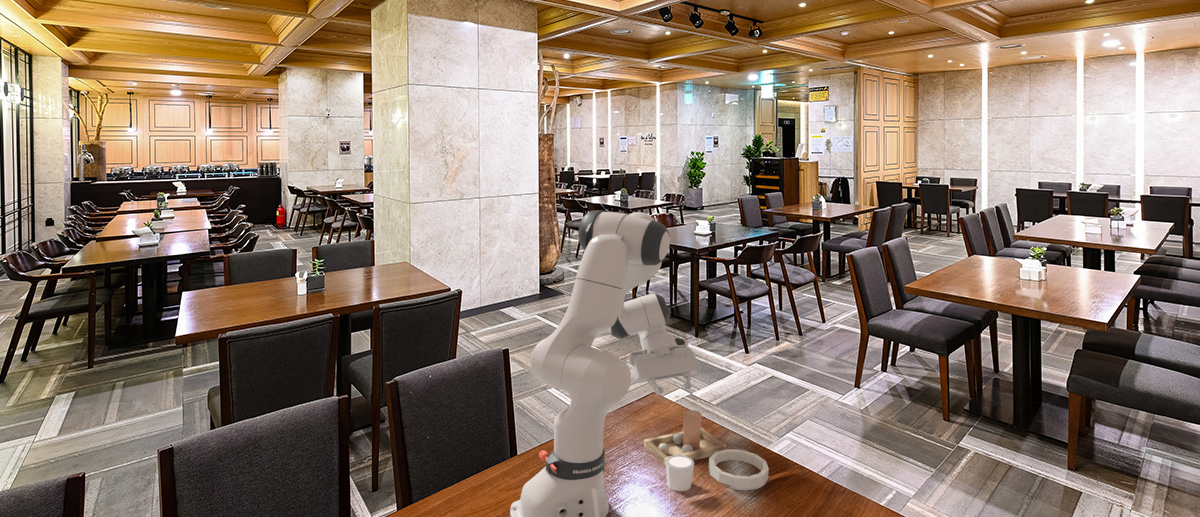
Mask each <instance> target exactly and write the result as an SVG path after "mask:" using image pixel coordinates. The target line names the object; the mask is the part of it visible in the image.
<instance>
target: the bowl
mask: <svg viewBox="0 0 1200 517" xmlns="http://www.w3.org/2000/svg"><path fill="white" fill-rule="evenodd" d="M726 461H740V462H744V463H747V464H750V465H753V466H754V467H756V468H757V470H759V472H758V473H755V474H752V475H735V474H732V473H730V472H726V471H724V470H722V469H721V468H719V467H718V466H717V465H718V464H720V463H723V462H726ZM708 470H709V475H710V476H711V477H712V478H713V479H715V480H716V481H717V482H718V483H721V484H723V485H727V486H726V488H727V489H731V490H733V491H734V490H735V491H743V492H745V491H746V492H747V491H753V490H757V489H761V488H763V487H764V486H765V485H766V484H767V481H768V479H769V470H770V468H769V466H768V463H767V461H766V460H765V459H764V458H762V457H761V456H760V455H758V454H757V453H753V452H750V451H747V450H744V449H734V448H733V449H730V448H729V449H728V448H727V449H726V450H722V451H718V452H715V453H714V454H713V455H712V456H711V457H708Z"/></svg>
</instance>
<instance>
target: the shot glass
mask: <svg viewBox="0 0 1200 517" xmlns="http://www.w3.org/2000/svg"><path fill="white" fill-rule="evenodd" d="M694 461H695V460H694ZM694 461H693V460H692V459H691V458H689V457H687V456H683V455H673V456H670V457H668V458H667V459H666V466H665V469H666V484H667V485H666V486H667V487H668V488H669V489H670V490H673V491H676V492H685V491H688V490H690V489H691V487H692V482H693V481H692V480H693V474H694V468H695V462H694Z"/></svg>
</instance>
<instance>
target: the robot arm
mask: <svg viewBox="0 0 1200 517" xmlns="http://www.w3.org/2000/svg"><path fill="white" fill-rule="evenodd" d="M577 237H578V242H579V244H580V246H581V249H582V250H583V251H584V252H583V254H582V257H581V260H580V263H579V266H578V269H577V272H576V276H575V281H574V284H573V288H572V292H571V295H570V299H569V302H568V305H567V309H566V311H565V314H564V316H563V317H562V320H561V321H560V323H559V324H558V325H557V327H556V328H555V330H554V331H553V332H552V333H551V334H550V335H548V336H547V337H545V338H544V339H542V340H540V341H539V342H538V343H537V344H536V345H535V347H534V348H533V350H532V353H531V355H530V368H531V371H532V373H533V375H534V376H535V377H537V379H540V380H541V381H542V382H544V383H545V384H546V385H547V386H550V387H553V388H556V389H557V390H558V389H559V390H561V391H562V392H565V393H568V394H569V396H570V405H569V406H567V407H565V408H564V409H562V410H561V411H560V412H559V413H558V414H557V415H556V417H555V419H554V422H553V448H552V451H551V453H550V454H549V453H548V451H546V450H544V449H543V450H541V451H539V453H538V458H539V459H540V460H541V462H543V463H545V466H544V467H543V468H542V469H541V470H540V471H539V472H537V473H536V474H535V475H534V476H533V477H532V478H530V479H529V480H528V481H527V482H525V484H523V486H522V489H521V494H520V498H519V499H518V500H516V501H514V502H512V503H511V505H510V510H509V516H510V517H607V515H608V513H609V511H610V505H609V502H608V498H607V494H606V489H605V481H604V472H605V464H606V458H605V448H604V430H605V421H606V416H608V415H607V414H608V412H609V410H610V409H611V408H612V407H613V406H614V405H616V404H618V403H619V402H621V401H622V400H623V399H624V398H625V397H626V395H627V394H628V391H629V390H630V387H631V383H632V382H631V381H632V374H633V377H634V380H635V382H637V383H638V384H641V383H648V386H649V387H651V388H652V389H653V390H654V392H655V395H656V396H658V395H659V396H660V395H663V394H664V390H663V387H662V386H659V385H658V384H657V383H656V382H657V381H660V380H666V379H672V378H677V377H678V378H679V377H683V379H684V380H685V382H684V383H683V384H682V385H683V388H684V390H690V389H692V384H691V379H692V378H691V376H692V375H694V374H695V373H697V371H699V368H700V365H699V364H700V363H699V361H698V360H697V357H696V354H695V353H694V351H693V350H692V348H690V347H688V345H689V342H688V340H687V339H686V338H681V337H676V336H674V335H673V336H672V335H670V334H669V331H667V329H666V328H665V325H667V323H669V320H670V318H671V311H670V310H669V307H668V305H667V302H666V299H665V298H664V297H663V296H662V295H660V294H658V293H656V292H653V293H649V294H646V295H642V296H639V297H636V298H633V299H630V300H626V301H625V298H626V297H625V296H626V295H627V294H628V293H629V292H630V291H631V290H633V289H634V288H636V287H638V286H640V285H642V284H643V283H646V282H647V281H649V280H651V279H652V278H653V277H655V276H656V275H657V273H659V271H660V270H661V269H660V268H661V267H662V264H663V263H662V262H663V261H664V260H665V257H667V254H668V252H669V248H670V243H671V242H670V241H671V240H670V232H669V230H668V228H667V226H666V225H665V224H663V223H661V222H659V221H656V220H655V219H654V218H653V217H652V216H651V215H649V214H648V213H645V212H642V211H641V212H640V211H637V212H635V211H634V212H632V213H624V212H613V211H605V210H599V209H597V210H590V211H588V212H587V213H586V214H585V215H583V217H582V219H581V221H580V224H579V226H578V235H577ZM606 330H607V331H608V333H609V335H611V336H612V337H614V338H616V339H618V340H623V339H626V338H628V337H630V336H631V335H636V334H637V335H638V336H639V340H640V341H639V343H640V346H641V348H642V349H641V350H633V351H631V352H630V353H629V355H628V361H629V363H630V365H631V368H632V373H631V369H630V367H629V365H628V363H627V362H625V361H624V360H622V359H621V358H619V357H618V356H616V355H614V354H612V353H611V352H609V351H607V350H606V351H605V350H602V349H599V348H596V347H592V345H593V343H594V341H595V339H596V338H597V336H599V334H600V333H601V332H603V331H606Z"/></svg>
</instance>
